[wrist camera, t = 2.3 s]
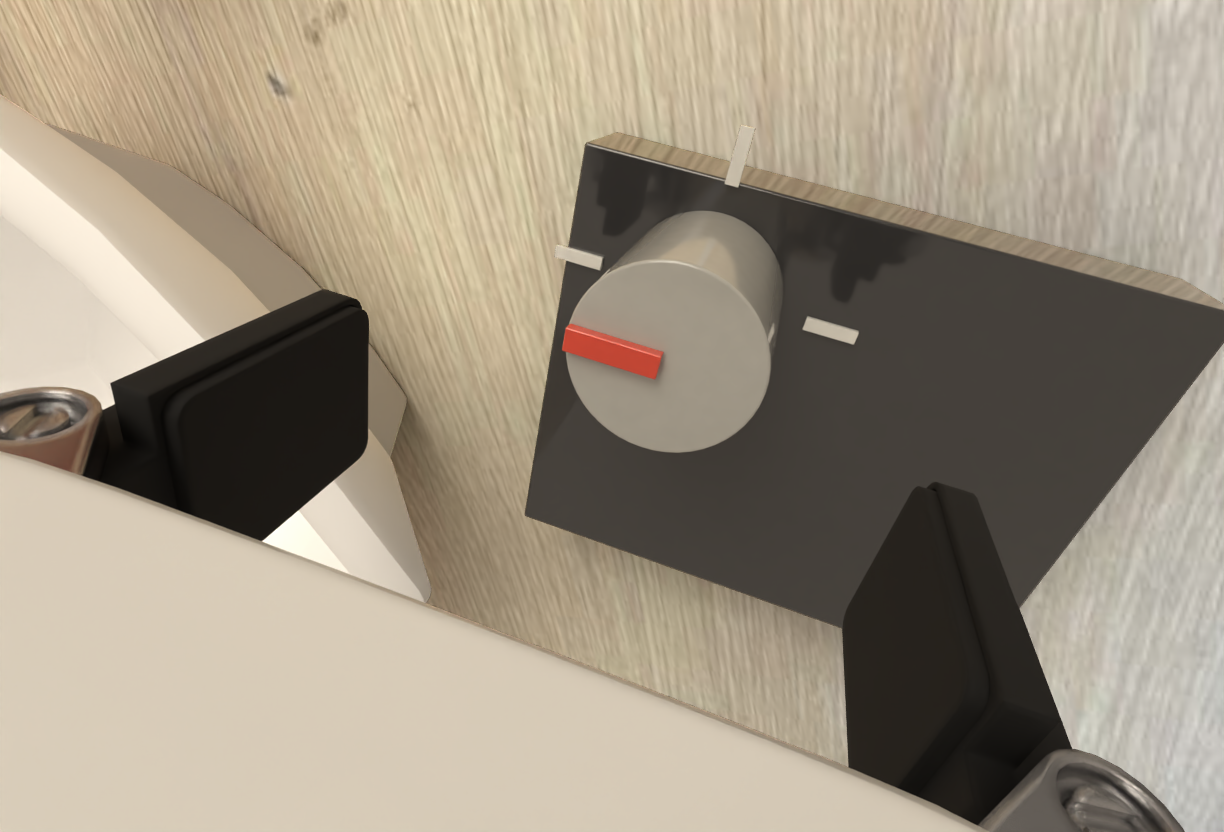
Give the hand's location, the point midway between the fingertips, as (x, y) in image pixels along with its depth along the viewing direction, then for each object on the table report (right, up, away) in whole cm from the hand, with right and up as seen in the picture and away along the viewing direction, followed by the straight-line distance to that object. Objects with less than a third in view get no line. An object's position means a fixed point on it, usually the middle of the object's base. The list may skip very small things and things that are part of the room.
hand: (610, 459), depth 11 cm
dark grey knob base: (+6, +1, +11) cm, 13 cm away
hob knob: (+3, +4, +7) cm, 9 cm away
